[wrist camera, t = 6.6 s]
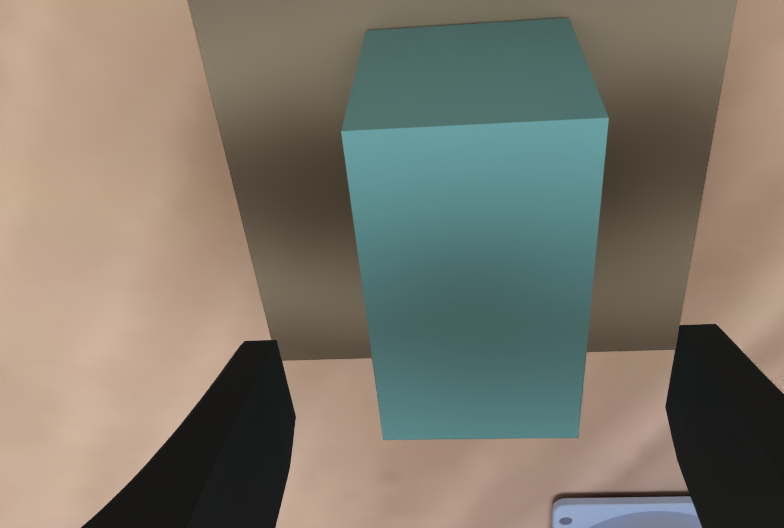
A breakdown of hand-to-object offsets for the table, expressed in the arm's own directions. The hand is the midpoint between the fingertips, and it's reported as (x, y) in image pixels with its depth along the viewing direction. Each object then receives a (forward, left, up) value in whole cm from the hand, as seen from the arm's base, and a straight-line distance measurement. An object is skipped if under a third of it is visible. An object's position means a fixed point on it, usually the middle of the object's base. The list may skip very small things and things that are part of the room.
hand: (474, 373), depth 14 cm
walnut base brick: (0, 0, -10) cm, 10 cm away
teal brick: (0, 0, -7) cm, 7 cm away
